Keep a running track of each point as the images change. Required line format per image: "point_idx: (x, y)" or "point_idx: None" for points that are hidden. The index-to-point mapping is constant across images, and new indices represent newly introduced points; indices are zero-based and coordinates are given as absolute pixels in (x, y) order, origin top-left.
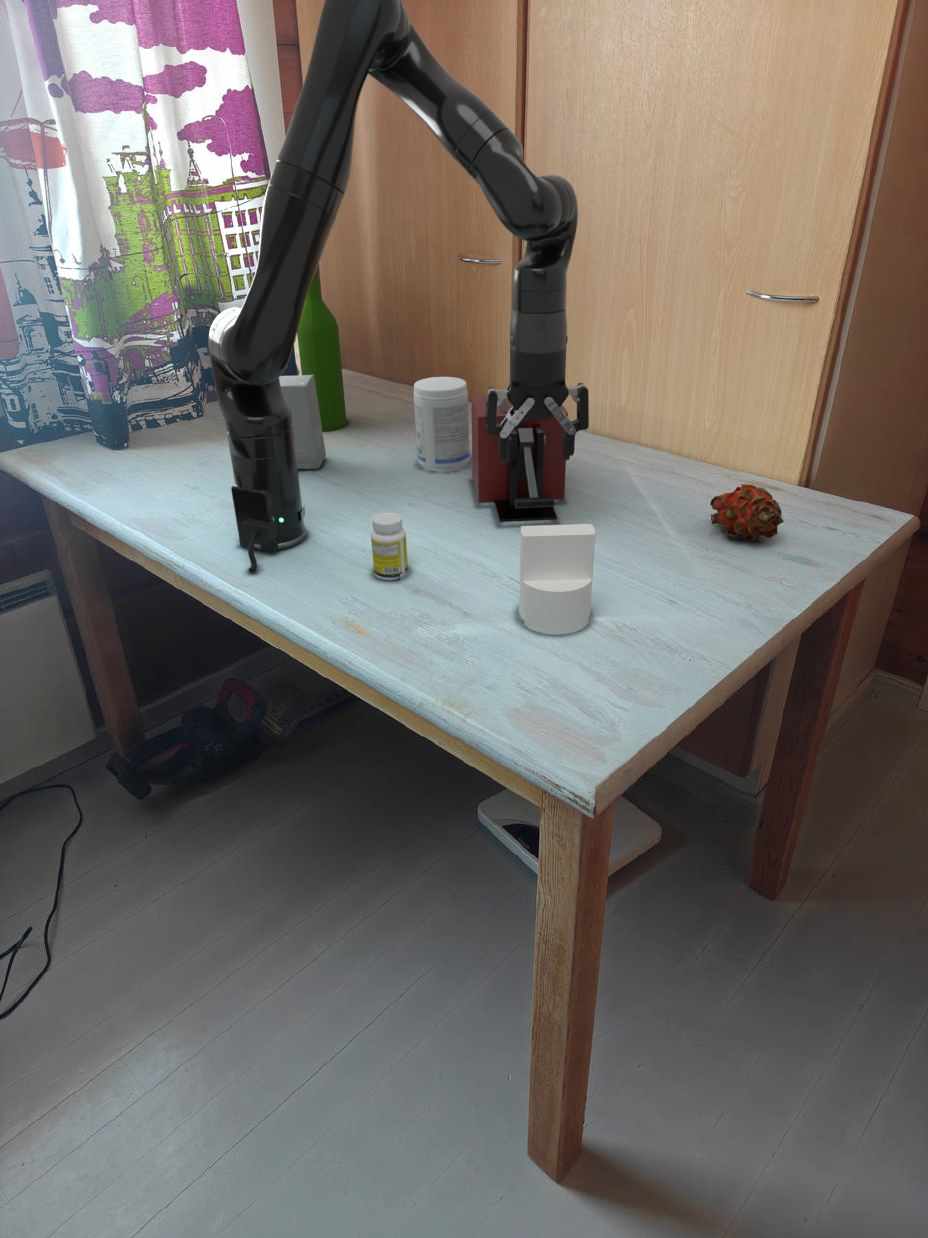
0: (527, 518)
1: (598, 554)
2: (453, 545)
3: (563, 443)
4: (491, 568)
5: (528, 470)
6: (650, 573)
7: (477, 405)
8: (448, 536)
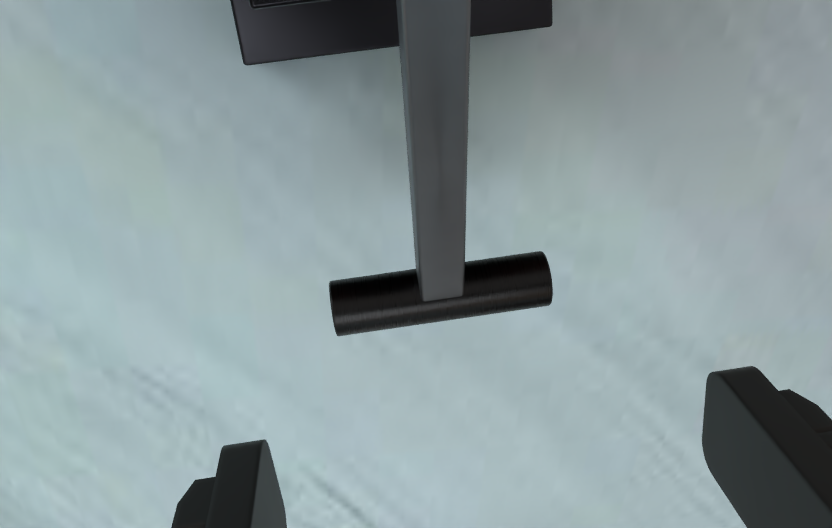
0: (394, 45)
1: (659, 312)
2: (56, 263)
3: (765, 480)
4: (252, 434)
5: (425, 165)
6: None
7: None
8: (4, 172)
